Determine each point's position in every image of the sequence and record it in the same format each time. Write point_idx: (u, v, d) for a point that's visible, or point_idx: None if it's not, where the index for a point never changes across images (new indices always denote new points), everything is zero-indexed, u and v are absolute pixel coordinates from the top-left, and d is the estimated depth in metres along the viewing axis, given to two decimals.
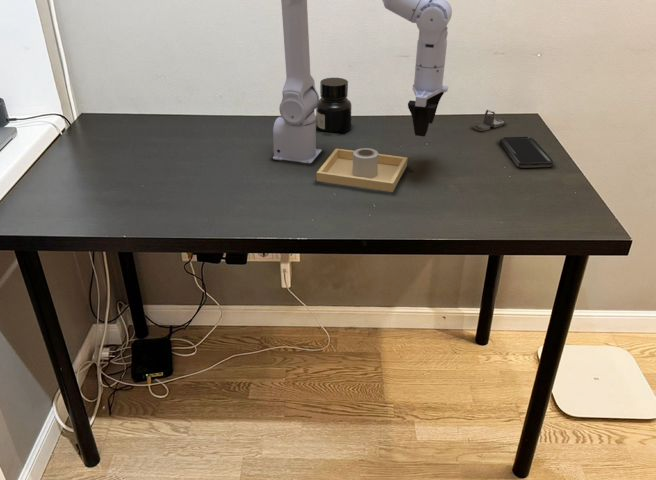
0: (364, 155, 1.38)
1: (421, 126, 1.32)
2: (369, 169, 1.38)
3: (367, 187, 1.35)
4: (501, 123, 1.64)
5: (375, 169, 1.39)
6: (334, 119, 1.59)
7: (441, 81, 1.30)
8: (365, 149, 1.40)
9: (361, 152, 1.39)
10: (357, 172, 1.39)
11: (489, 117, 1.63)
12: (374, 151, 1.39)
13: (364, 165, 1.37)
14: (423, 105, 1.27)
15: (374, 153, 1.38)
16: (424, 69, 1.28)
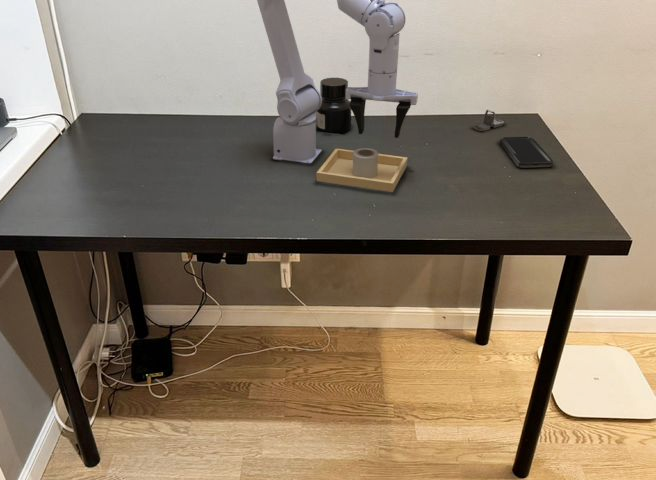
0: (364, 155, 1.38)
1: None
2: (369, 169, 1.38)
3: (367, 187, 1.35)
4: (501, 123, 1.64)
5: (375, 169, 1.39)
6: (334, 119, 1.59)
7: (375, 88, 1.29)
8: (365, 149, 1.40)
9: (361, 152, 1.39)
10: (357, 172, 1.39)
11: (489, 117, 1.63)
12: (374, 151, 1.39)
13: (364, 165, 1.37)
14: None
15: (374, 153, 1.38)
16: None
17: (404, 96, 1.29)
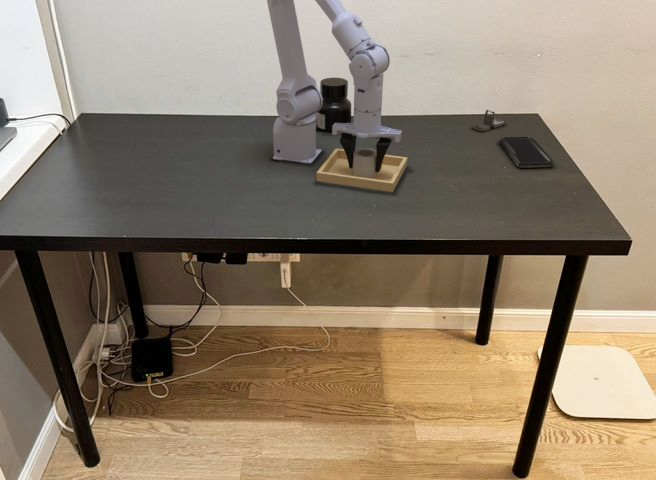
0: (364, 155, 1.38)
1: None
2: (369, 169, 1.38)
3: (367, 187, 1.35)
4: (501, 123, 1.64)
5: (375, 169, 1.39)
6: (334, 119, 1.59)
7: (360, 126, 1.33)
8: (365, 149, 1.40)
9: (361, 152, 1.39)
10: (357, 172, 1.39)
11: (489, 117, 1.63)
12: (374, 151, 1.39)
13: (364, 165, 1.37)
14: None
15: (374, 153, 1.38)
16: None
17: (388, 134, 1.33)
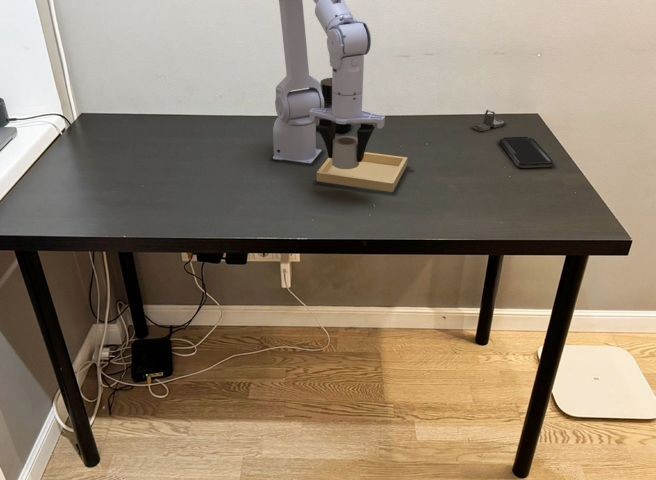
0: (345, 143, 1.26)
1: None
2: (350, 158, 1.26)
3: (367, 187, 1.35)
4: (501, 123, 1.64)
5: None
6: None
7: (339, 110, 1.21)
8: (346, 137, 1.28)
9: (341, 140, 1.27)
10: (337, 162, 1.27)
11: (489, 117, 1.63)
12: (355, 139, 1.27)
13: (344, 154, 1.26)
14: None
15: (355, 141, 1.27)
16: None
17: (370, 119, 1.21)
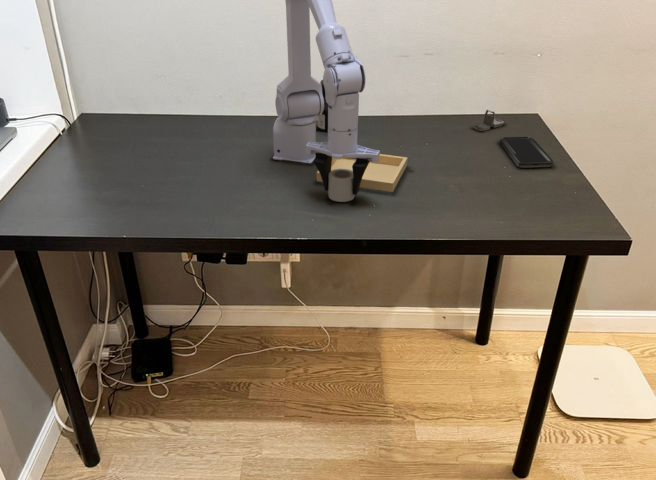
0: (340, 176, 1.28)
1: None
2: (346, 191, 1.28)
3: (367, 187, 1.35)
4: (501, 123, 1.64)
5: (352, 191, 1.29)
6: None
7: (334, 146, 1.23)
8: (342, 170, 1.31)
9: (337, 173, 1.29)
10: (333, 195, 1.30)
11: (489, 117, 1.63)
12: (351, 172, 1.30)
13: (340, 187, 1.28)
14: None
15: (351, 174, 1.29)
16: None
17: (365, 154, 1.24)
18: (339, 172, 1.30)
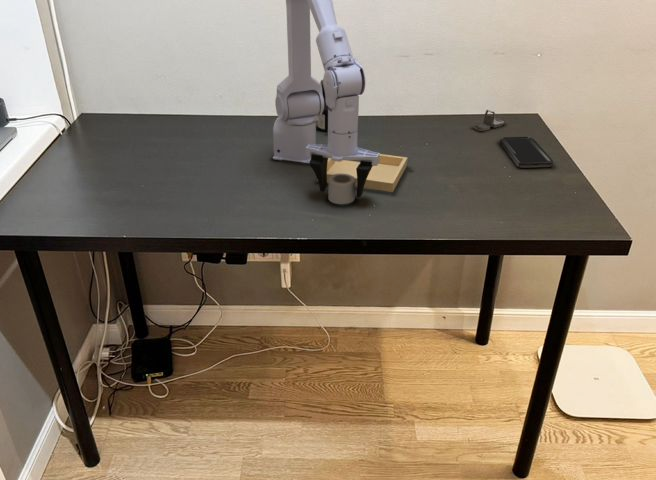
0: (340, 181, 1.29)
1: None
2: (346, 196, 1.29)
3: (367, 187, 1.35)
4: (501, 123, 1.64)
5: (352, 196, 1.30)
6: None
7: (334, 148, 1.24)
8: (341, 174, 1.31)
9: (337, 178, 1.30)
10: (333, 200, 1.30)
11: (489, 117, 1.63)
12: (351, 177, 1.30)
13: (339, 192, 1.28)
14: None
15: (351, 179, 1.29)
16: None
17: (365, 156, 1.24)
18: (339, 177, 1.30)
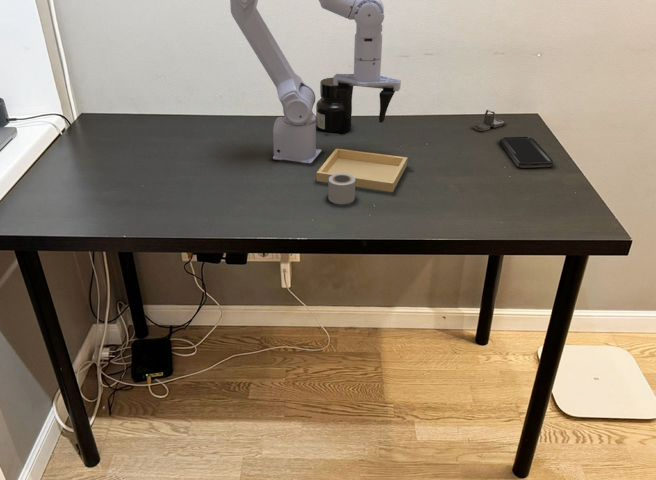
0: (340, 181, 1.29)
1: None
2: (346, 196, 1.29)
3: (367, 187, 1.35)
4: (501, 123, 1.64)
5: (352, 196, 1.30)
6: (334, 119, 1.59)
7: (360, 74, 1.37)
8: (341, 174, 1.31)
9: (337, 178, 1.30)
10: (333, 200, 1.30)
11: (489, 117, 1.63)
12: (351, 177, 1.30)
13: (339, 192, 1.28)
14: None
15: (351, 179, 1.29)
16: None
17: (387, 82, 1.37)
18: (339, 177, 1.30)
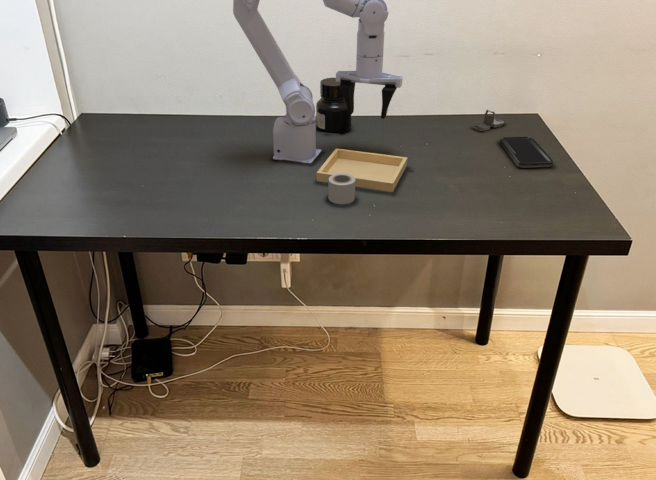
0: (340, 181, 1.29)
1: None
2: (346, 196, 1.29)
3: (367, 187, 1.35)
4: (501, 123, 1.64)
5: (352, 196, 1.30)
6: (334, 119, 1.59)
7: (362, 71, 1.39)
8: (341, 174, 1.31)
9: (337, 178, 1.30)
10: (333, 200, 1.30)
11: (489, 117, 1.63)
12: (351, 177, 1.30)
13: (339, 192, 1.28)
14: None
15: (351, 179, 1.29)
16: None
17: (389, 79, 1.39)
18: (339, 177, 1.30)
